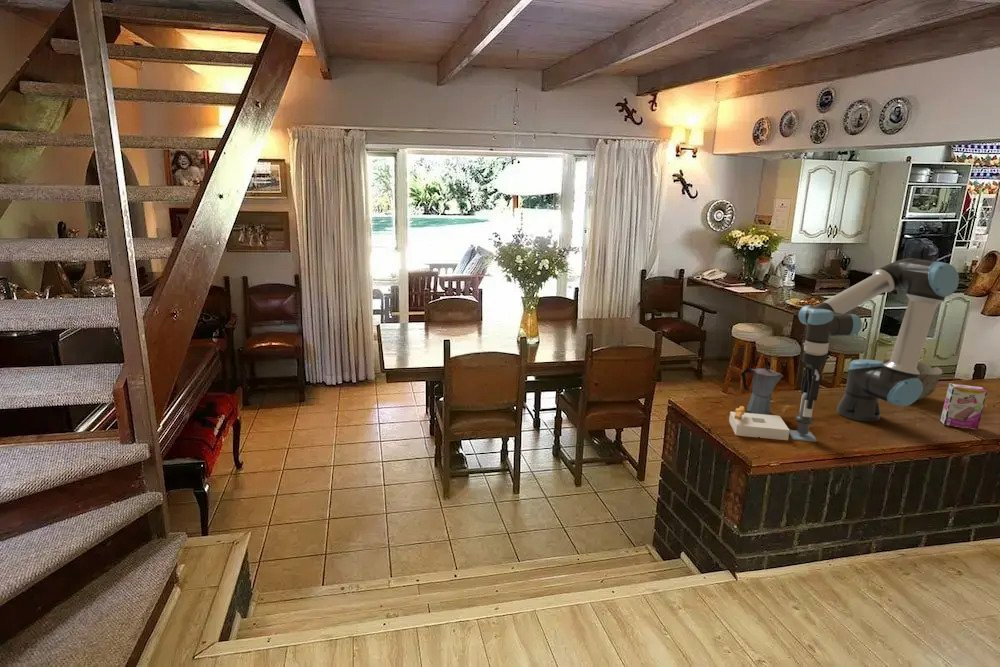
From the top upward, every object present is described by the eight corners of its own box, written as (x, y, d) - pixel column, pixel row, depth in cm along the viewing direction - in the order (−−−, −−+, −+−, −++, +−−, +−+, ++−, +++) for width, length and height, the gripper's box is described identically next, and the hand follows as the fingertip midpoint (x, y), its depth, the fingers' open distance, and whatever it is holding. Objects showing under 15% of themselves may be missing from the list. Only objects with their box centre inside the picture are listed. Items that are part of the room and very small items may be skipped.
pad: (810, 433, 221) (810, 431, 221) (816, 442, 213) (817, 440, 213) (787, 431, 222) (787, 429, 222) (793, 439, 215) (793, 438, 215)
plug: (808, 430, 220) (814, 391, 216) (813, 436, 214) (819, 397, 211) (792, 428, 221) (798, 390, 217) (796, 434, 215) (802, 395, 212)
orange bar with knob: (737, 408, 227) (738, 404, 227) (746, 410, 226) (746, 406, 225) (731, 418, 217) (732, 414, 217) (741, 420, 216) (741, 416, 215)
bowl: (937, 411, 247) (944, 376, 243) (875, 400, 258) (882, 367, 255) (934, 396, 265) (941, 364, 261) (877, 386, 276) (883, 355, 272)
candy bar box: (944, 426, 230) (952, 386, 226) (939, 422, 235) (948, 382, 231) (978, 431, 227) (988, 390, 223) (973, 426, 231) (982, 386, 227)
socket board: (778, 425, 228) (780, 411, 226) (788, 440, 214) (790, 425, 213) (729, 421, 231) (730, 406, 230) (735, 435, 218) (737, 420, 216)
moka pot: (780, 418, 235) (787, 370, 230) (739, 414, 238) (745, 367, 233) (774, 409, 244) (781, 363, 239) (735, 406, 247) (741, 360, 242)
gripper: (797, 345, 219) (788, 405, 224) (810, 358, 203) (800, 421, 209) (819, 347, 217) (809, 407, 223) (834, 359, 202) (823, 423, 207)
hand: (805, 414), depth 216 cm, fingers closed on plug, 3 cm apart
